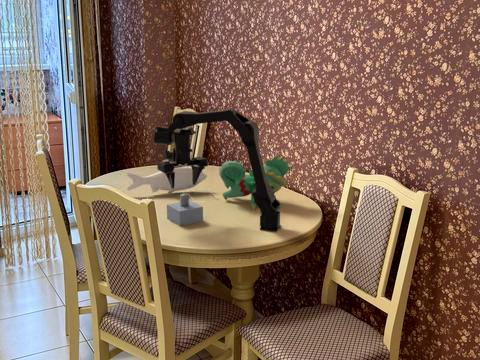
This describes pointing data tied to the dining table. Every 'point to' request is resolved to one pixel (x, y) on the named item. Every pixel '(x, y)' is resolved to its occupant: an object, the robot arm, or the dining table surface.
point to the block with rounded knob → (184, 211)
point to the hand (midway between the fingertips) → (183, 186)
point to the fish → (162, 183)
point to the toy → (252, 178)
